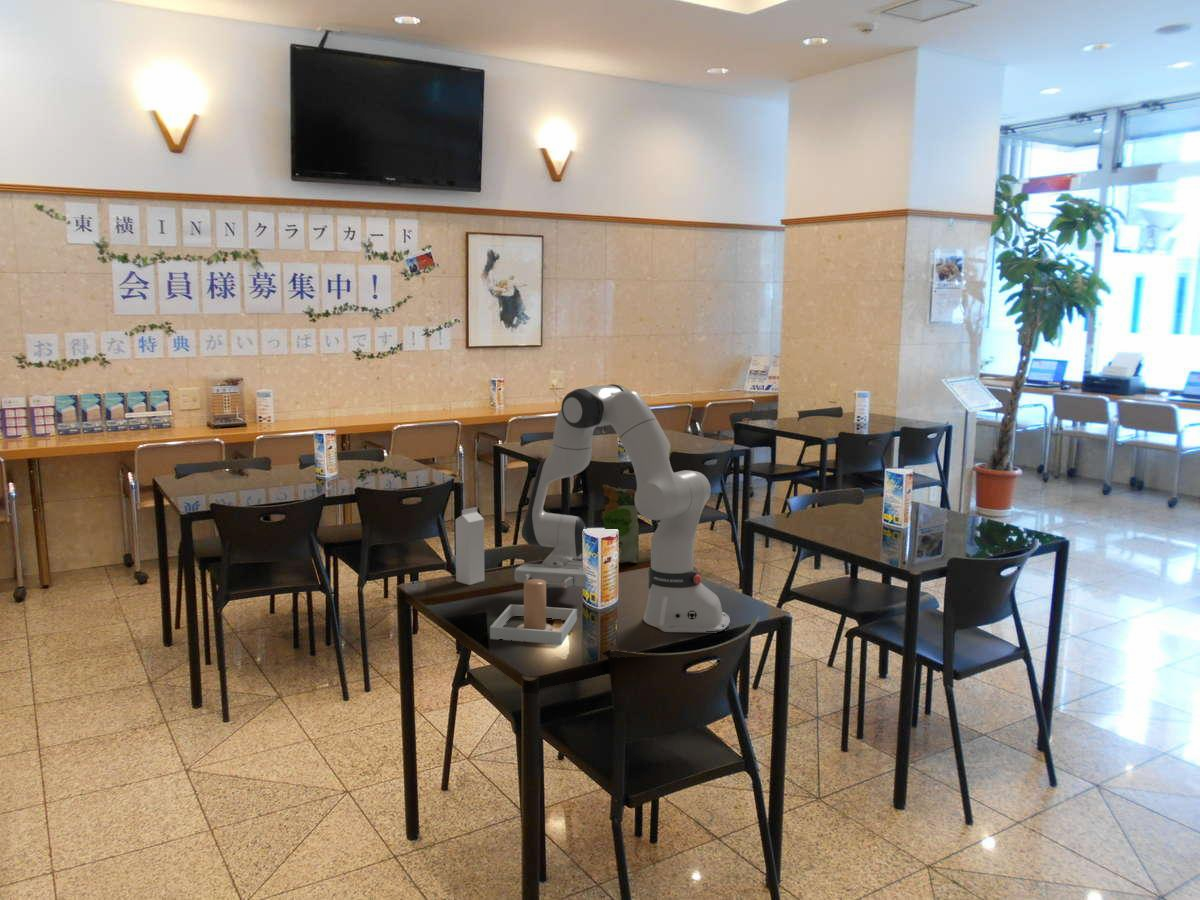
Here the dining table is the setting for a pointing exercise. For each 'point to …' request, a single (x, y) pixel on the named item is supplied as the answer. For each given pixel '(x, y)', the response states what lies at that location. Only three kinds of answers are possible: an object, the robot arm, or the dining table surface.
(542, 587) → the canister
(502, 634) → the white square frame
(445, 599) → the dining table surface
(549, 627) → the coaster
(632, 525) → the pouch
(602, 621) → the dining table surface
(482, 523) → the milk
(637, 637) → the dining table surface
